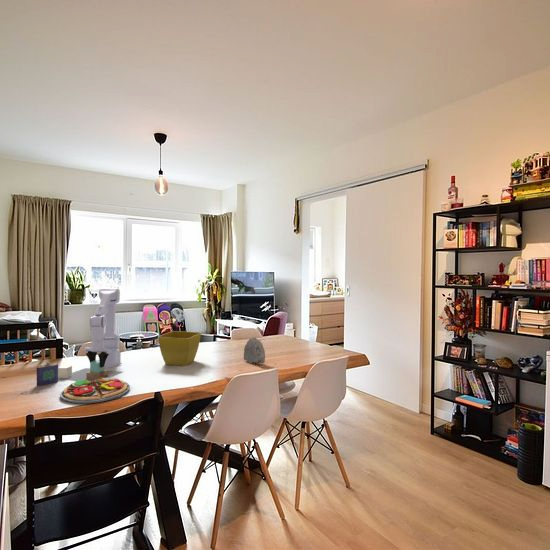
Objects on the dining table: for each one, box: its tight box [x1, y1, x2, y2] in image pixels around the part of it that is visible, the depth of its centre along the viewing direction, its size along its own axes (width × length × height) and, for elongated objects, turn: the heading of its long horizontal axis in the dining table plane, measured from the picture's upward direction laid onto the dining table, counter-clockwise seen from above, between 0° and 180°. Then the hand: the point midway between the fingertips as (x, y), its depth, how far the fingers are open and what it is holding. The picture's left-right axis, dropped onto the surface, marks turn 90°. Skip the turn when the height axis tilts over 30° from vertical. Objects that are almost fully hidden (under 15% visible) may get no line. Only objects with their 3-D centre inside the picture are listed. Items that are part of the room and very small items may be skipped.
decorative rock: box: [243, 337, 266, 365], centre depth 216 cm, size 16×7×15 cm, turn 36°
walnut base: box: [86, 369, 109, 380], centre depth 182 cm, size 7×7×3 cm
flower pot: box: [157, 330, 202, 367], centre depth 214 cm, size 19×19×17 cm
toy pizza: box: [59, 377, 131, 404], centre depth 161 cm, size 28×28×4 cm
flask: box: [36, 361, 59, 387], centre depth 172 cm, size 9×3×11 cm, turn 144°
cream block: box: [58, 365, 73, 378], centre depth 183 cm, size 4×4×5 cm
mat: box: [58, 367, 123, 382], centre depth 186 cm, size 20×24×1 cm
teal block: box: [89, 359, 105, 373], centre depth 182 cm, size 4×4×5 cm
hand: (97, 366), depth 182 cm, fingers open, 5 cm apart
